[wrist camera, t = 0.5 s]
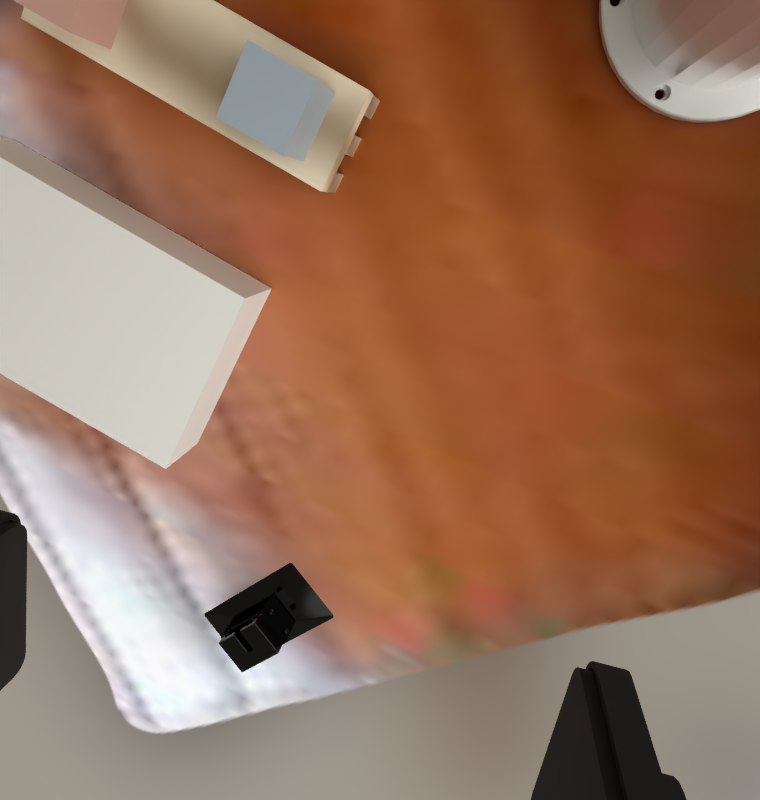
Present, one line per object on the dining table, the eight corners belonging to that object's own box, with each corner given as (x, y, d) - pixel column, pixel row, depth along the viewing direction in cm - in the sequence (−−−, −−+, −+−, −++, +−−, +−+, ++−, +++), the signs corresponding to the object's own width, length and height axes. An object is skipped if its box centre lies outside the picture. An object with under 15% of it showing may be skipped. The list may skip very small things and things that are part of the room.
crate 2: (272, 57, 36) (247, 39, 32) (335, 93, 36) (317, 80, 32) (243, 126, 37) (215, 117, 33) (304, 161, 37) (282, 156, 33)
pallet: (95, -64, 39) (52, -93, 35) (380, 101, 39) (369, 90, 35) (64, 35, 41) (20, 18, 37) (336, 192, 41) (320, 191, 37)
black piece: (302, 541, 49) (283, 574, 45) (357, 614, 50) (344, 653, 46) (185, 610, 53) (158, 646, 48) (239, 676, 54) (217, 717, 49)
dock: (9, 136, 43) (-50, 128, 38) (271, 288, 43) (245, 298, 38) (-42, 305, 47) (-101, 315, 43) (197, 442, 47) (165, 468, 43)
